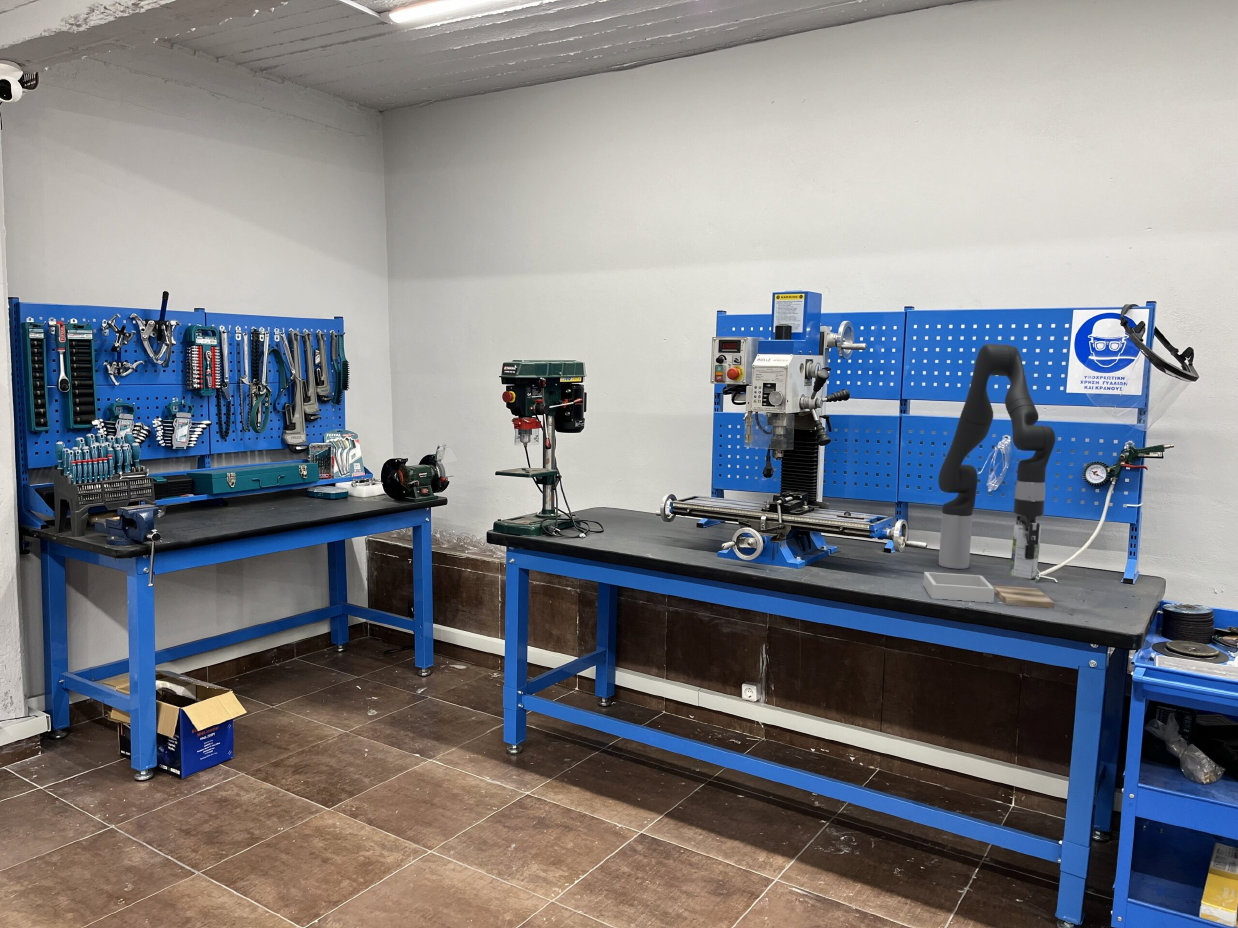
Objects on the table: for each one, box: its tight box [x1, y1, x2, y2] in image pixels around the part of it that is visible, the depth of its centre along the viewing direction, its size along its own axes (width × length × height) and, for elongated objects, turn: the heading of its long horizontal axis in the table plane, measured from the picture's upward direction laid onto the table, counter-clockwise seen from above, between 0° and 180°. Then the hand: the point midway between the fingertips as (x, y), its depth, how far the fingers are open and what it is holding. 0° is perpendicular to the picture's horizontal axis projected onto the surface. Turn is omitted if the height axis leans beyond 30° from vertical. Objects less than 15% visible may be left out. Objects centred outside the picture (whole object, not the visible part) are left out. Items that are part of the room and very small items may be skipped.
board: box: [992, 585, 1055, 609], centre depth 243 cm, size 16×12×2 cm
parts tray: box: [922, 571, 995, 604], centre depth 247 cm, size 16×16×4 cm
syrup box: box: [1009, 523, 1042, 579], centre depth 242 cm, size 6×6×14 cm
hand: (1025, 556), depth 242 cm, fingers closed on syrup box, 7 cm apart
